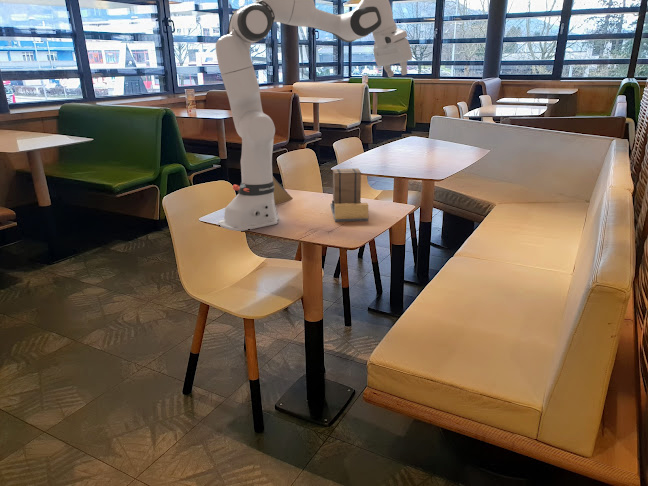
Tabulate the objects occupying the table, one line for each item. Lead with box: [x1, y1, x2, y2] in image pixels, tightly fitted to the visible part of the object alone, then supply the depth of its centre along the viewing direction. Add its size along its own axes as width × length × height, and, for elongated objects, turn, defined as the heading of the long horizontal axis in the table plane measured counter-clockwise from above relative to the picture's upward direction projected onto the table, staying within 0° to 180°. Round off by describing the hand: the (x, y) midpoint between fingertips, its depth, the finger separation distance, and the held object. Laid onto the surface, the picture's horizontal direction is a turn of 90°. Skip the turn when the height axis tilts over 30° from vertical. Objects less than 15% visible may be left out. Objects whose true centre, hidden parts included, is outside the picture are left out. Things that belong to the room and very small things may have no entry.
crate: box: [332, 168, 362, 204], centre depth 192 cm, size 8×10×12 cm
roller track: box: [330, 199, 369, 223], centre depth 188 cm, size 22×12×6 cm, turn 4°
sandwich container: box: [272, 175, 293, 205], centre depth 206 cm, size 9×15×15 cm, turn 143°
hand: (397, 75), depth 183 cm, fingers open, 8 cm apart
